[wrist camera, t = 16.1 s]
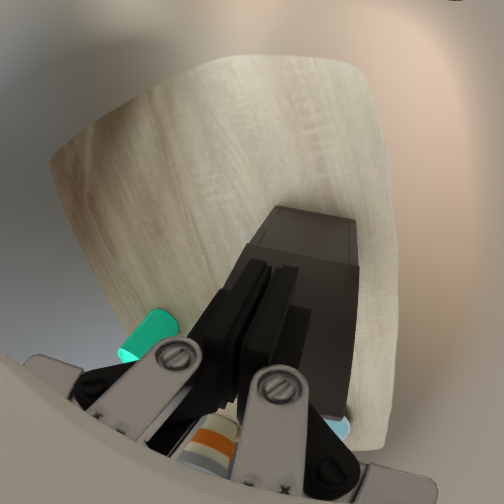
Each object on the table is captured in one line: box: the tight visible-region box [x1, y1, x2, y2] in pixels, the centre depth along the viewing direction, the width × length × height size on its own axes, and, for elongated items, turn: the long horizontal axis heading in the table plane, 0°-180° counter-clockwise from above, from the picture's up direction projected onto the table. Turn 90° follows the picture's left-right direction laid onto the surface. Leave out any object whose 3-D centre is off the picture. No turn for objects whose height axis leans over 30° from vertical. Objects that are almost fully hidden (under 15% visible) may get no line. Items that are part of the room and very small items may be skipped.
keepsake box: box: [249, 206, 358, 266], centre depth 29 cm, size 12×9×10 cm
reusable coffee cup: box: [175, 414, 238, 478], centre depth 56 cm, size 13×13×15 cm
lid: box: [223, 243, 359, 422], centre depth 18 cm, size 12×9×1 cm
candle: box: [117, 309, 179, 363], centre depth 43 cm, size 6×6×12 cm
